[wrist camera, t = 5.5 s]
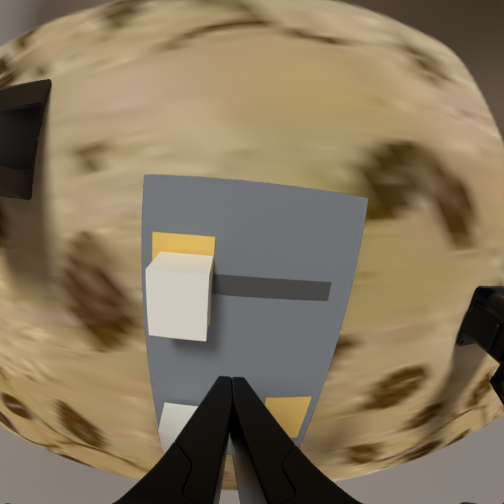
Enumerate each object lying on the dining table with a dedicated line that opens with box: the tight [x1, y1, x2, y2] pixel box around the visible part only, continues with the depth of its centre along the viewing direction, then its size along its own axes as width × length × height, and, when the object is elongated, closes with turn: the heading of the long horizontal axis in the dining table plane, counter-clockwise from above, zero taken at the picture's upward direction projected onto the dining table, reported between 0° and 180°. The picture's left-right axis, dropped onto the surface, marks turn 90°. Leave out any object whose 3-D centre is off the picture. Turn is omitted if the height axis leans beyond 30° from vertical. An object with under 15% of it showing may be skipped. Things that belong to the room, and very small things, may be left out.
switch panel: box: [142, 174, 368, 455], centre depth 19 cm, size 13×24×2 cm, turn 174°
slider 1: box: [146, 252, 213, 341], centre depth 14 cm, size 3×4×3 cm
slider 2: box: [158, 402, 198, 455], centre depth 18 cm, size 3×4×3 cm
